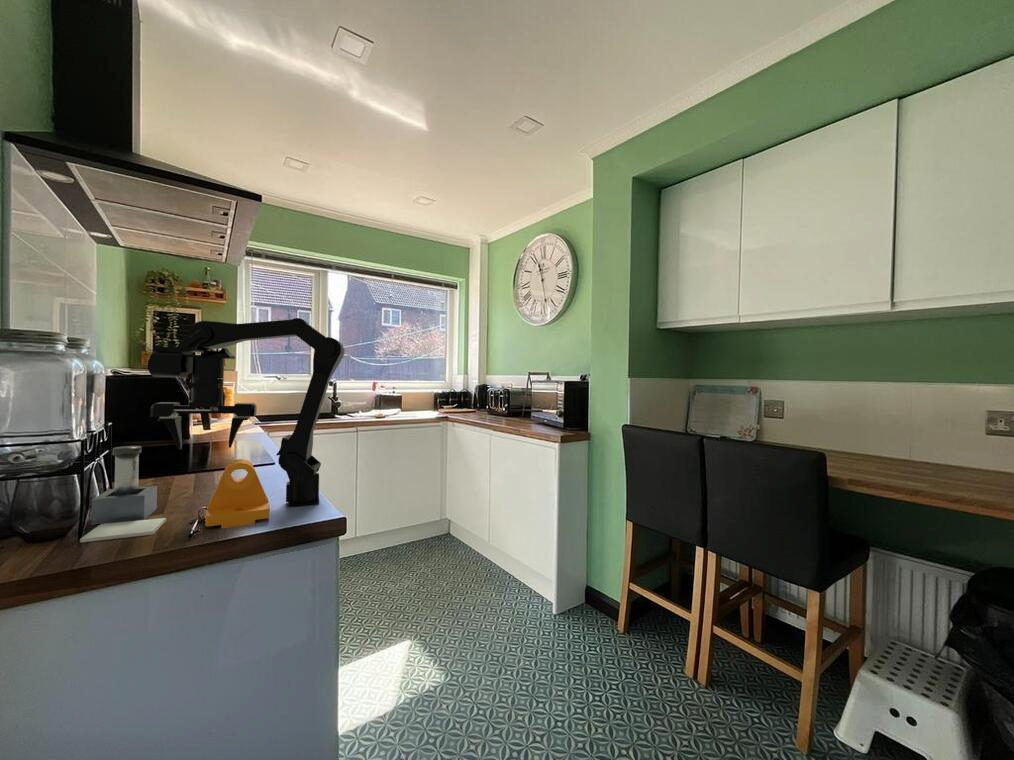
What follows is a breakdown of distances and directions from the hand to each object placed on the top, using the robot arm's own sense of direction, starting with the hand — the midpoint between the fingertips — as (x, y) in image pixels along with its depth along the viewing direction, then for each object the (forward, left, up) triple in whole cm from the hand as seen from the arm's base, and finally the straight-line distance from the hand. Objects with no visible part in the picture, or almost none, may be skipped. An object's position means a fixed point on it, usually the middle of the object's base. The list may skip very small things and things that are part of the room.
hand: (205, 448), depth 94 cm
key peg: (+13, +2, -11) cm, 17 cm away
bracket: (-8, +13, -13) cm, 20 cm away
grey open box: (+13, +2, -13) cm, 19 cm away
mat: (+10, +12, -13) cm, 20 cm away
